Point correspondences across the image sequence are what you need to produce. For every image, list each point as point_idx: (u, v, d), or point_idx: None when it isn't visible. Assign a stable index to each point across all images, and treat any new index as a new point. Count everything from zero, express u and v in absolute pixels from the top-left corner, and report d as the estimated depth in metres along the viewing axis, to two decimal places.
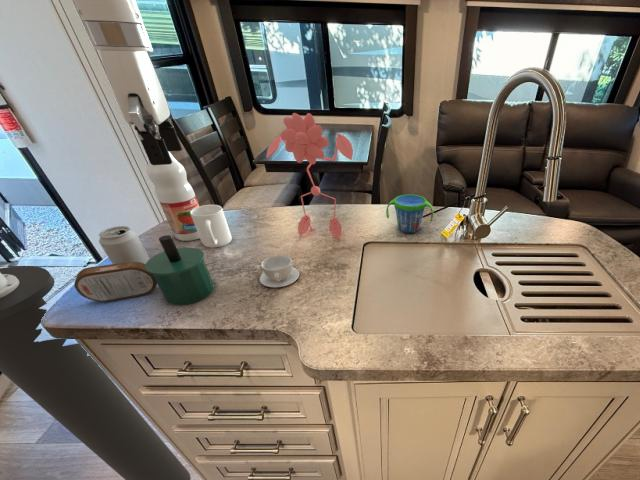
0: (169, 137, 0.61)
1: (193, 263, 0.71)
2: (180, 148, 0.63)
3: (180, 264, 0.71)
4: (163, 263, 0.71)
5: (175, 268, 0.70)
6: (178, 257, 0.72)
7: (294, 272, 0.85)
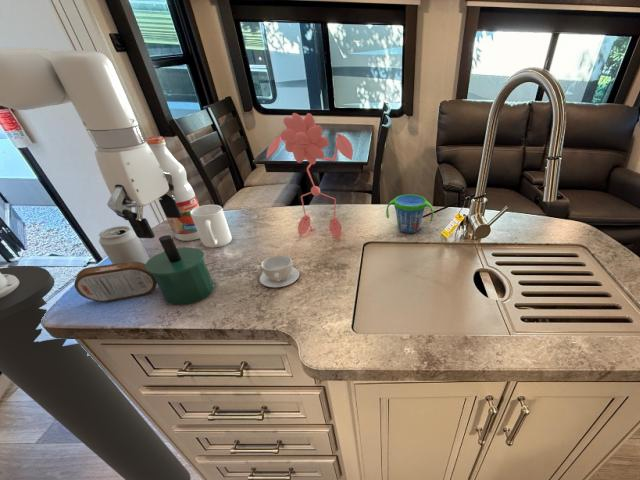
0: (170, 207, 0.70)
1: (193, 263, 0.71)
2: (179, 216, 0.71)
3: (180, 264, 0.71)
4: (163, 263, 0.71)
5: (175, 268, 0.70)
6: (178, 257, 0.72)
7: (294, 272, 0.85)
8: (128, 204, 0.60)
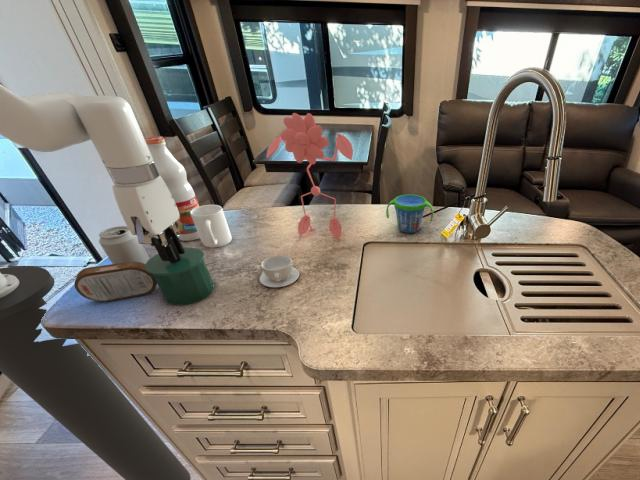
0: None
1: (193, 263, 0.71)
2: (183, 252, 0.73)
3: (180, 264, 0.71)
4: (163, 263, 0.71)
5: (175, 268, 0.70)
6: (178, 257, 0.72)
7: (294, 272, 0.85)
8: (150, 234, 0.66)
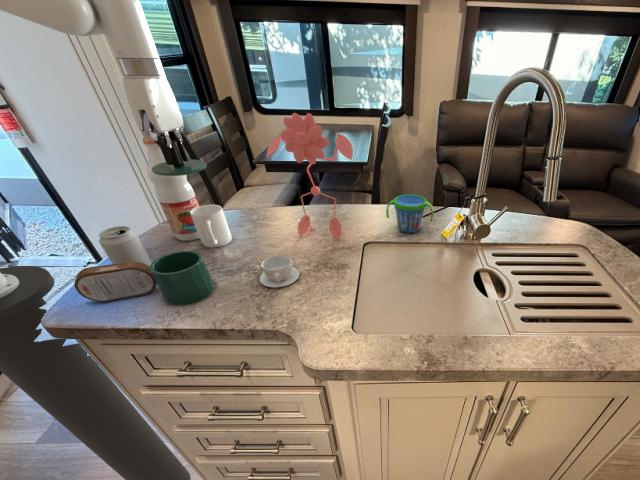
0: None
1: (196, 168, 0.77)
2: (186, 159, 0.78)
3: (184, 168, 0.76)
4: (168, 167, 0.76)
5: (179, 170, 0.75)
6: (182, 163, 0.77)
7: (294, 272, 0.85)
8: (156, 133, 0.71)
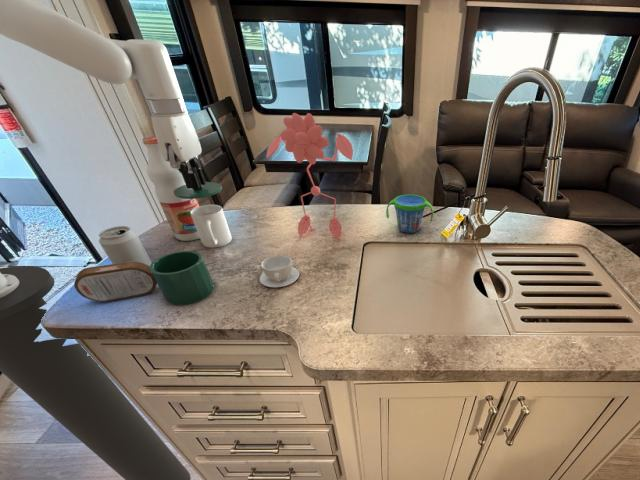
0: None
1: (213, 191, 0.85)
2: (204, 183, 0.87)
3: (202, 191, 0.85)
4: (188, 191, 0.85)
5: (198, 193, 0.84)
6: (200, 186, 0.86)
7: (294, 272, 0.85)
8: (179, 162, 0.80)
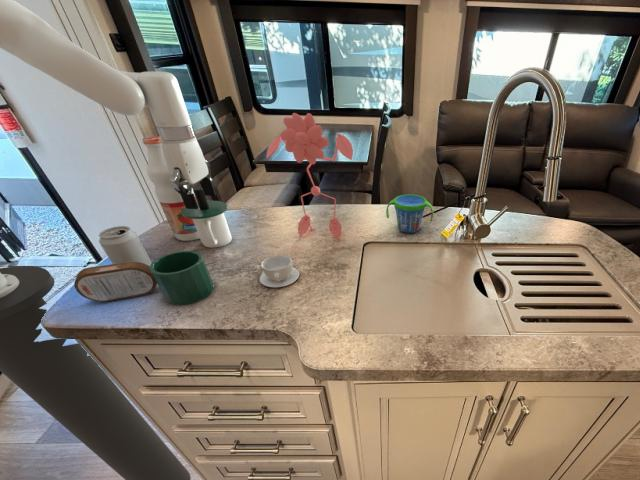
0: (207, 187, 0.91)
1: (219, 210, 0.89)
2: (214, 194, 0.92)
3: (209, 211, 0.88)
4: (195, 210, 0.88)
5: (205, 213, 0.87)
6: (207, 206, 0.89)
7: (294, 272, 0.85)
8: (181, 182, 0.81)
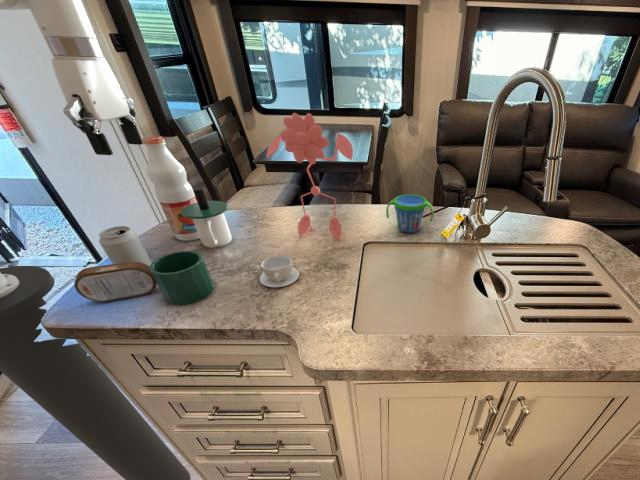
0: (131, 132, 0.72)
1: (219, 210, 0.89)
2: (140, 142, 0.73)
3: (209, 211, 0.88)
4: (195, 210, 0.88)
5: (205, 213, 0.87)
6: (207, 206, 0.89)
7: (294, 272, 0.85)
8: (85, 117, 0.62)
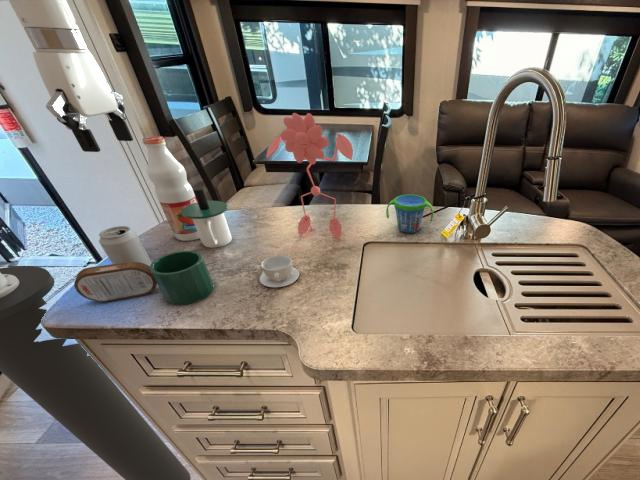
0: (120, 128, 0.70)
1: (219, 210, 0.89)
2: (130, 139, 0.71)
3: (209, 211, 0.88)
4: (195, 210, 0.88)
5: (205, 213, 0.87)
6: (207, 206, 0.89)
7: (294, 272, 0.85)
8: (71, 112, 0.60)
